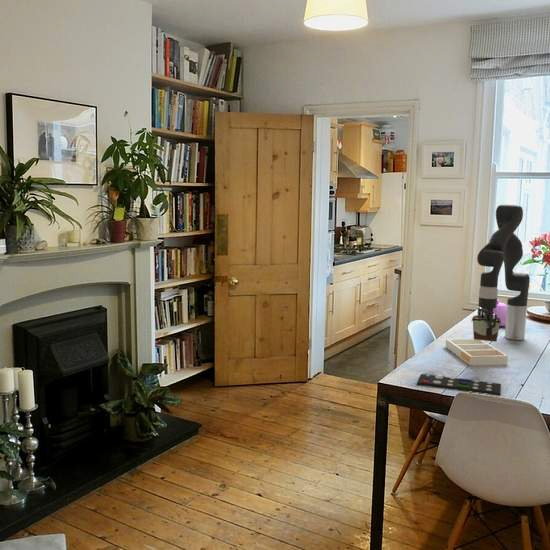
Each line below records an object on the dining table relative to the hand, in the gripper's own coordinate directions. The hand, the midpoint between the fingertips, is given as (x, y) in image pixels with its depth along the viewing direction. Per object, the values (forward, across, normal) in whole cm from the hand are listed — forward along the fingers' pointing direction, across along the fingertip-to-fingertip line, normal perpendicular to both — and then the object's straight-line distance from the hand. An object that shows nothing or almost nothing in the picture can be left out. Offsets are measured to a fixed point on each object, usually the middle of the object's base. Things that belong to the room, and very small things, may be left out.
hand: (485, 334), depth 260 cm
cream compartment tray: (+12, +9, 0) cm, 15 cm away
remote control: (+13, -29, +23) cm, 40 cm away
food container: (+3, +1, 0) cm, 3 cm away
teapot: (+13, +66, -38) cm, 77 cm away
